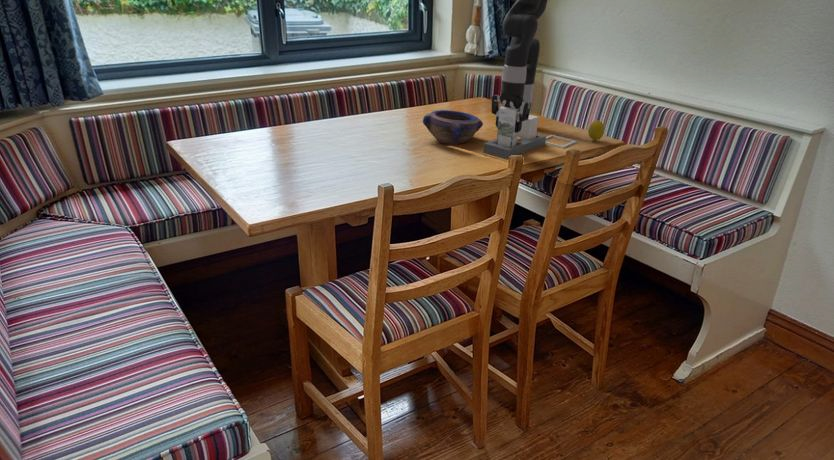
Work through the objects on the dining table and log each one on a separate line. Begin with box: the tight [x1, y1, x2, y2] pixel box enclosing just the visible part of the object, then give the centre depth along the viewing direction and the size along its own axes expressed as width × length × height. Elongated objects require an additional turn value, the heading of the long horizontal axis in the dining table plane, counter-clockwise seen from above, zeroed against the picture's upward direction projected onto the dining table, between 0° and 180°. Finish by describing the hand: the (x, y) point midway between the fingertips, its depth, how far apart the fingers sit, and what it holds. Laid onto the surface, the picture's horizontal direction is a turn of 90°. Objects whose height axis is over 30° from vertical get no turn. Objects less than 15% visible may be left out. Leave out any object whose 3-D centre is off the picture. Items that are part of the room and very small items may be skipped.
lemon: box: [587, 119, 605, 142], centre depth 225 cm, size 6×6×8 cm
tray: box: [545, 134, 578, 149], centre depth 220 cm, size 10×10×2 cm
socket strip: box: [482, 133, 547, 163], centre depth 210 cm, size 10×24×5 cm, turn 140°
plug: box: [517, 114, 539, 141], centre depth 213 cm, size 6×6×10 cm
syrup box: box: [495, 105, 519, 148], centre depth 203 cm, size 6×6×14 cm
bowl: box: [422, 109, 484, 146], centre depth 216 cm, size 18×18×10 cm
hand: (507, 129), depth 204 cm, fingers closed on syrup box, 6 cm apart
